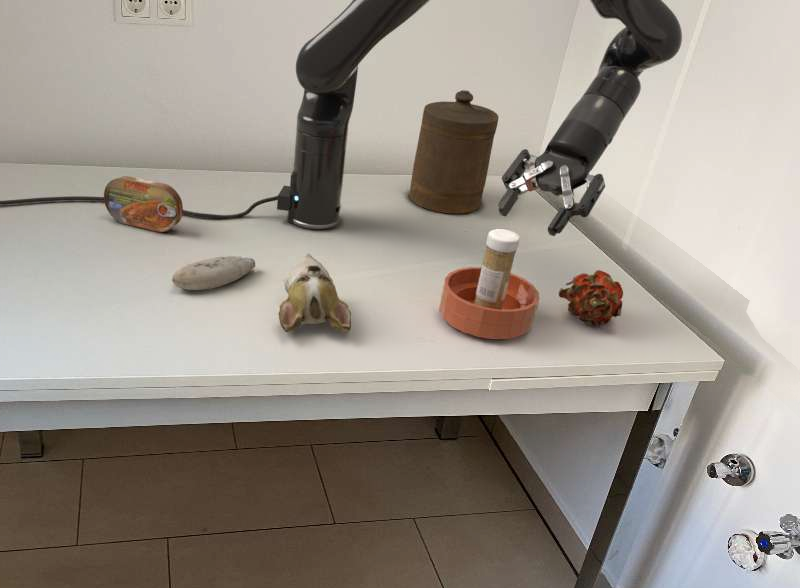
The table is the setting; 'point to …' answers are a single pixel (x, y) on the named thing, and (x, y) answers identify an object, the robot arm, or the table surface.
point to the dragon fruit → (594, 297)
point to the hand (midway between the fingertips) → (525, 223)
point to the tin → (143, 203)
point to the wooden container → (453, 155)
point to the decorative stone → (212, 272)
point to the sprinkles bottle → (496, 268)
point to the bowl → (484, 320)
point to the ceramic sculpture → (312, 298)
